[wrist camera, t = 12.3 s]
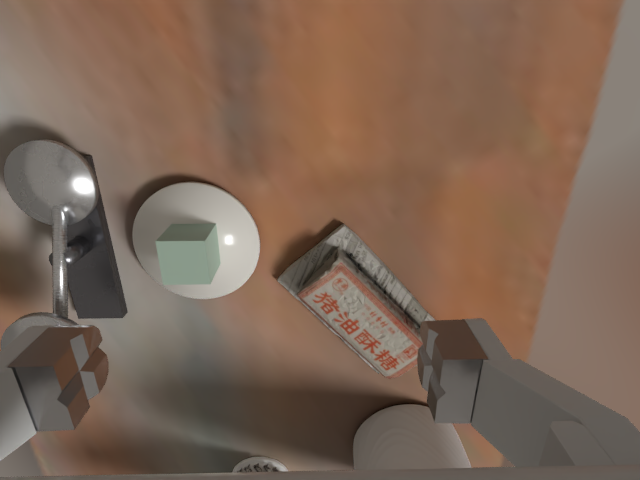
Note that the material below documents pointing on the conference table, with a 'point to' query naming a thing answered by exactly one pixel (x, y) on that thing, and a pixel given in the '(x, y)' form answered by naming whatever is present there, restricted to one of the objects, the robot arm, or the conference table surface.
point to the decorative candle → (259, 465)
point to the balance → (66, 232)
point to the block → (188, 254)
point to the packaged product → (359, 301)
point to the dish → (199, 208)
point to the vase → (407, 441)
